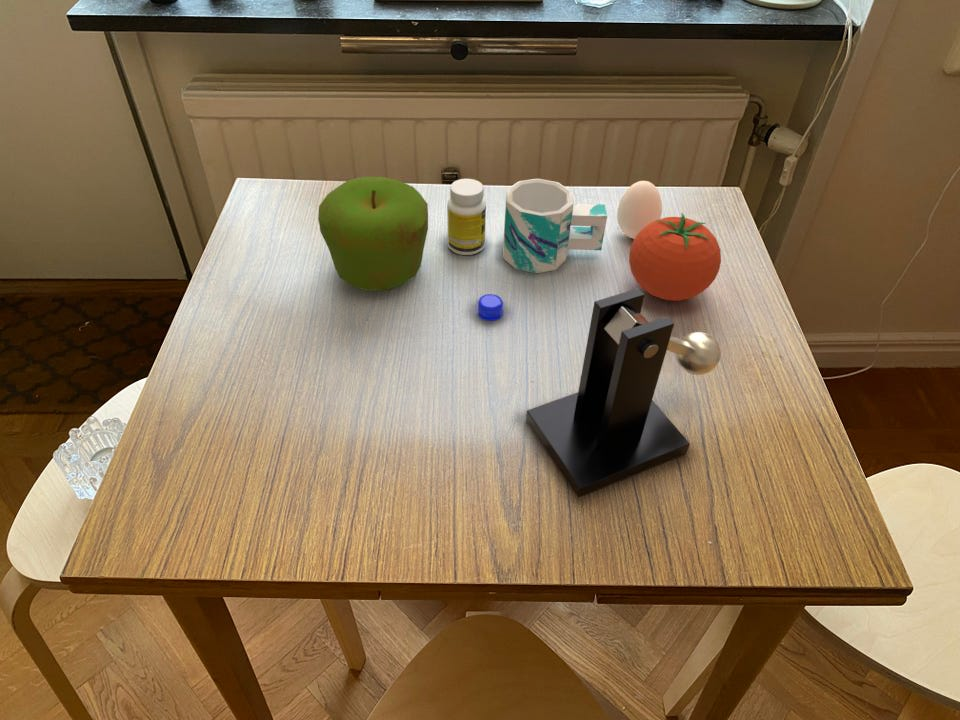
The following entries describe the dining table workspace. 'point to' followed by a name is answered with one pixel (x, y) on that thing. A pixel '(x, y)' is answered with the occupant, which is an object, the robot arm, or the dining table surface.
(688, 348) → the lever
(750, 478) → the dining table surface
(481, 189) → the supplement bottle
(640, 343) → the tap bracket
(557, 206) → the mug
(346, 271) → the apple
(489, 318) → the bottle cap
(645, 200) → the egg
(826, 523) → the dining table surface
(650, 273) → the tomato
